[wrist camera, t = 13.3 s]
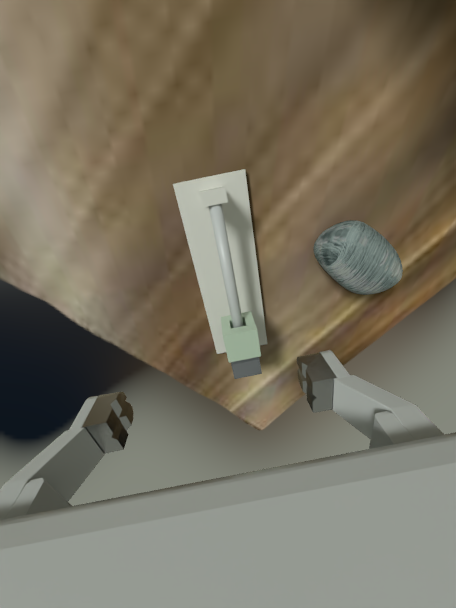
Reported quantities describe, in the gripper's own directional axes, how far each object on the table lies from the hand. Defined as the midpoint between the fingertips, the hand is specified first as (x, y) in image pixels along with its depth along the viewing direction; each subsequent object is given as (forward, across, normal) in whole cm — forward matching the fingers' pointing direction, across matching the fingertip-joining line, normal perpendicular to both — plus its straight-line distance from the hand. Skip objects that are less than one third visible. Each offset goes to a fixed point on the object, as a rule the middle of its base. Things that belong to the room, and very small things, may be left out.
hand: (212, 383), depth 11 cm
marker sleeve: (+25, -2, +14) cm, 28 cm away
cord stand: (+29, -2, +6) cm, 30 cm away
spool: (+29, -22, +6) cm, 37 cm away
